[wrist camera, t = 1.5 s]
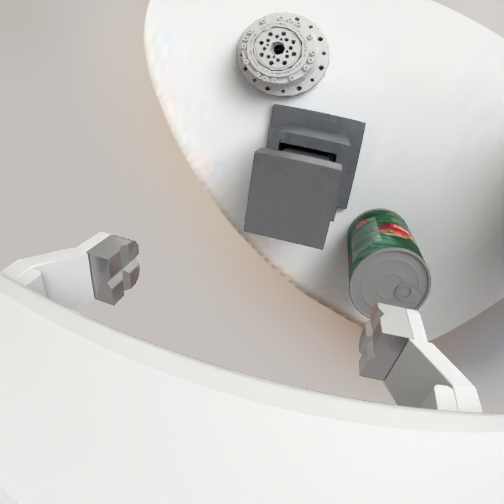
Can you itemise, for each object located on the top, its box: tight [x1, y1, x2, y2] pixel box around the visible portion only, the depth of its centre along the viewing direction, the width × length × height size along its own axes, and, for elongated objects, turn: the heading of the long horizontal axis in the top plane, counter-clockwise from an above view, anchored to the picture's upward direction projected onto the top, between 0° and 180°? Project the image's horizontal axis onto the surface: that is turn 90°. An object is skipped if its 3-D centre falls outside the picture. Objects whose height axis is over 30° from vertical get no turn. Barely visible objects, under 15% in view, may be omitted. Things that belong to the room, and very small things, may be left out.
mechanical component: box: [237, 13, 330, 96], centre depth 28 cm, size 10×4×10 cm
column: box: [244, 144, 342, 250], centre depth 26 cm, size 5×5×17 cm
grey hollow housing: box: [267, 104, 366, 221], centre depth 29 cm, size 10×10×12 cm
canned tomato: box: [347, 209, 431, 319], centre depth 31 cm, size 8×8×11 cm
